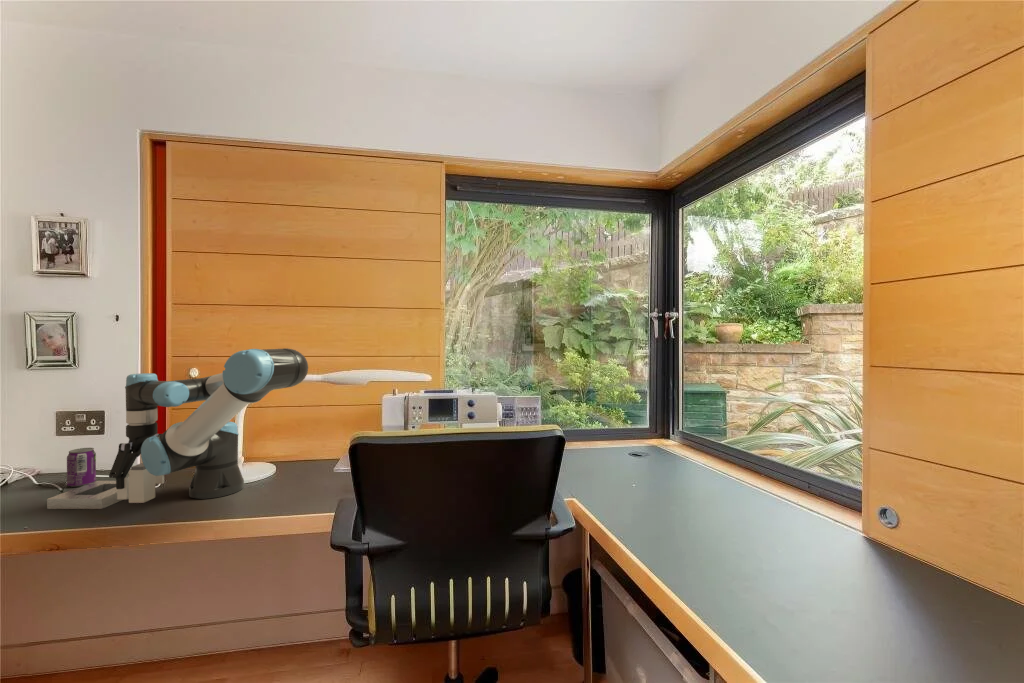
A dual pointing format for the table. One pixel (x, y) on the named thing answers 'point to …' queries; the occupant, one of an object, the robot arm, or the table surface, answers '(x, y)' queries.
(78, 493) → the socket block
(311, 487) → the table surface
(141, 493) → the plug
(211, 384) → the robot arm
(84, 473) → the beverage can
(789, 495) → the table surface
